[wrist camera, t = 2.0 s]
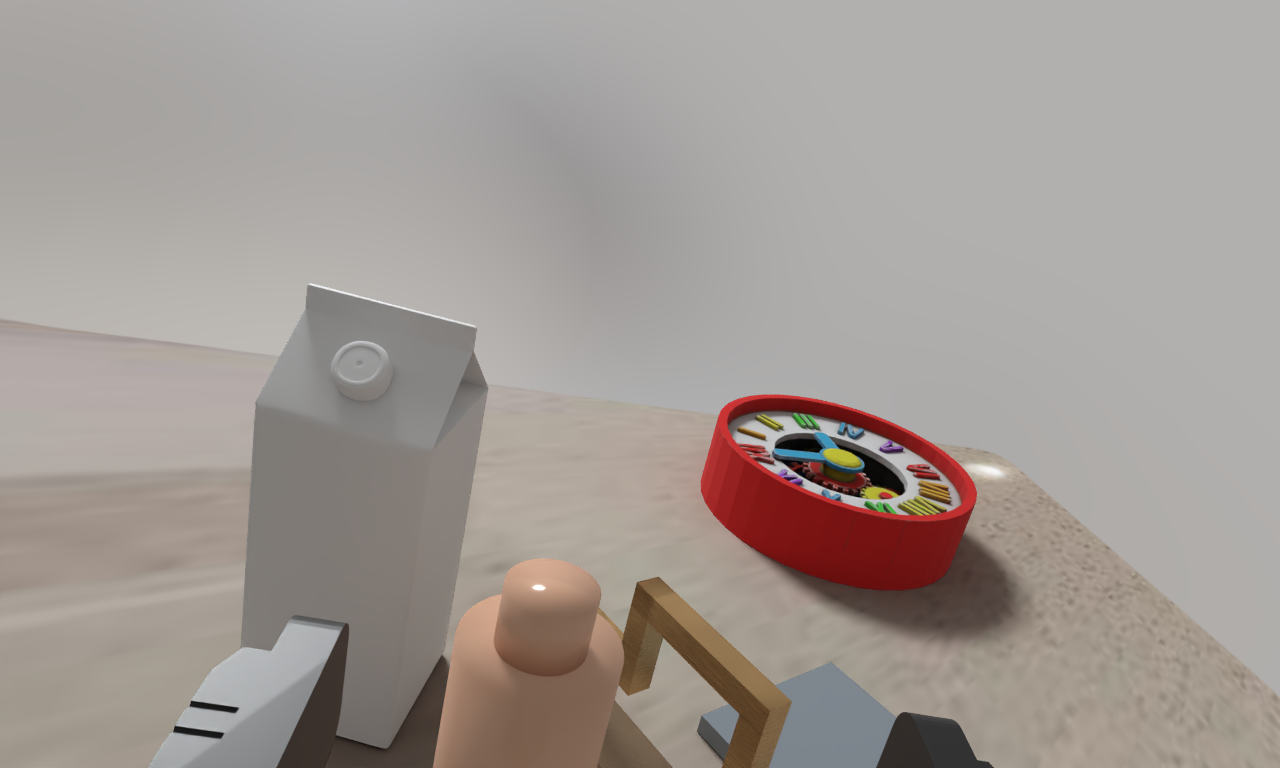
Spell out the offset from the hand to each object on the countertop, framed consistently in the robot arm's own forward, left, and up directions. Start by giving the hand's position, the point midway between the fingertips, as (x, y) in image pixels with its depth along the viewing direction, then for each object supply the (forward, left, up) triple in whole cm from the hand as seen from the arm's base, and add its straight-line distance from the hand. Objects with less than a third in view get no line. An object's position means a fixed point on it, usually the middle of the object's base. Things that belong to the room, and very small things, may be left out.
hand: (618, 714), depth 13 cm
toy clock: (-28, +46, -22) cm, 58 cm away
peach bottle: (-9, +6, -22) cm, 25 cm away
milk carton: (-24, +7, -22) cm, 34 cm away
